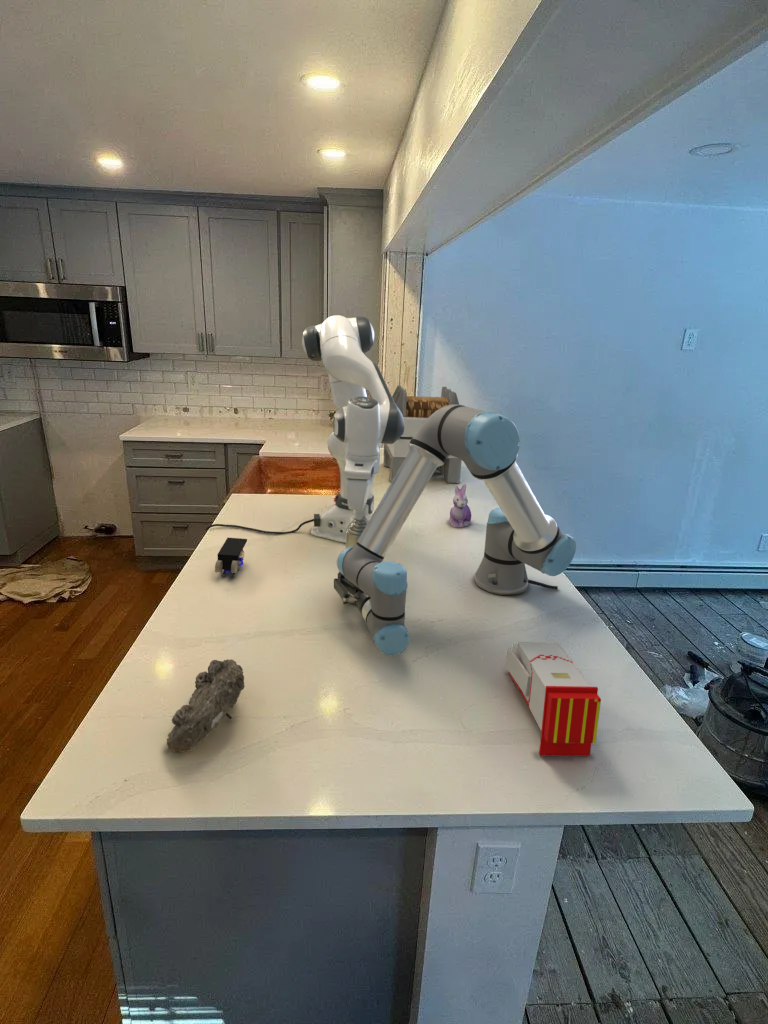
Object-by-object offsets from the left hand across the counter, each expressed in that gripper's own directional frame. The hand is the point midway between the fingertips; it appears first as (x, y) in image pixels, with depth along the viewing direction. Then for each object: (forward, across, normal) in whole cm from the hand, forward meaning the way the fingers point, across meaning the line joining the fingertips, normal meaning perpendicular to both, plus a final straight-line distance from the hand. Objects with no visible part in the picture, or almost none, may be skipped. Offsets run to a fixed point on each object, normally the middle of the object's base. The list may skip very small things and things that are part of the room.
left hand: (360, 515), depth 147 cm
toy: (+24, +39, +44) cm, 63 cm away
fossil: (+24, +52, -20) cm, 61 cm away
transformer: (+24, -129, +11) cm, 132 cm away
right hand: (+18, -5, -2) cm, 18 cm away
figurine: (+24, -63, +29) cm, 74 cm away
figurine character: (+24, -10, -39) cm, 47 cm away
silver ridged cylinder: (+24, 0, 0) cm, 24 cm away
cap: (-2, 0, 0) cm, 2 cm away
